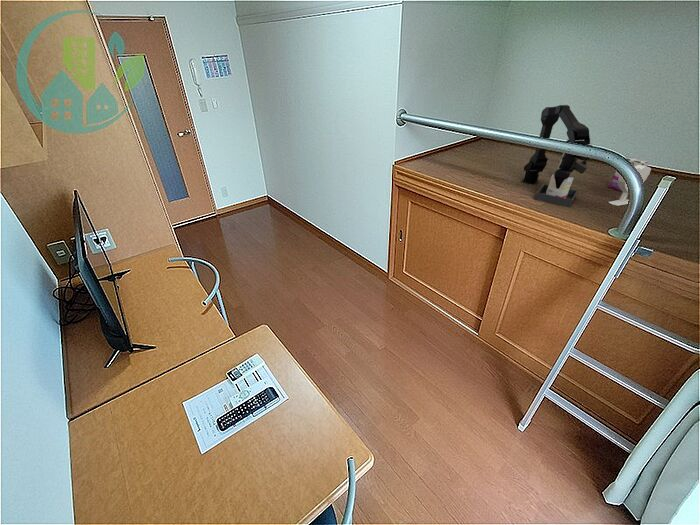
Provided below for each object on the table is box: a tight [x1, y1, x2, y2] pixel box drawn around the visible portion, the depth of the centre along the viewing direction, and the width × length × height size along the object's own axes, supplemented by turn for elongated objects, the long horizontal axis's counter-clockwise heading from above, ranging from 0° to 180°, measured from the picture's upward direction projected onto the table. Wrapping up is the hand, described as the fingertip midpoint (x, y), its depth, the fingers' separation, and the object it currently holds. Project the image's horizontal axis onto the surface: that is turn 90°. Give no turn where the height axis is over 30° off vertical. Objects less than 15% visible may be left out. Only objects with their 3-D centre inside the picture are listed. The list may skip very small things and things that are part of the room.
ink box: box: [545, 173, 574, 199], centre depth 164 cm, size 9×5×12 cm, turn 25°
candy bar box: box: [608, 156, 650, 192], centre depth 171 cm, size 11×5×16 cm, turn 21°
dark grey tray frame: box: [534, 183, 579, 208], centre depth 166 cm, size 16×16×4 cm
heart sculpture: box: [608, 165, 652, 207], centre depth 157 cm, size 16×5×18 cm, turn 110°
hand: (559, 186), depth 163 cm, fingers open, 9 cm apart
